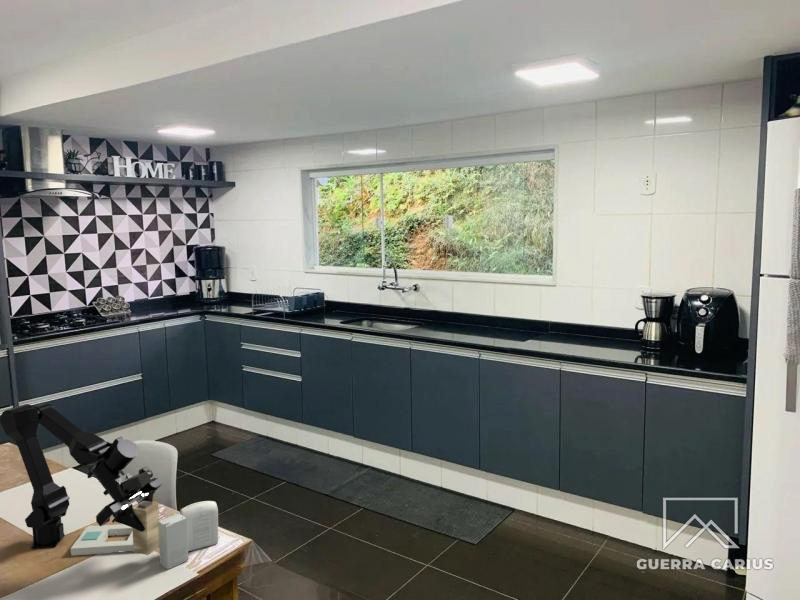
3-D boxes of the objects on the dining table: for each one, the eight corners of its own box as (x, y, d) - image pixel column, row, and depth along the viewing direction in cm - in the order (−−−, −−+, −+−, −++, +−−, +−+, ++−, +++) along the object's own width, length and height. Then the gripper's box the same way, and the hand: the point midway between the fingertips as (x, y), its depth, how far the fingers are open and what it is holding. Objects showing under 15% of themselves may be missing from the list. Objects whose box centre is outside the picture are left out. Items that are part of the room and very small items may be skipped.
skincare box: (180, 554, 160) (178, 512, 158) (189, 560, 157) (188, 517, 156) (158, 564, 155) (156, 520, 154) (167, 571, 152) (165, 526, 151)
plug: (133, 552, 154) (131, 505, 153) (145, 543, 158) (143, 498, 157) (148, 555, 153) (146, 508, 151) (159, 546, 157) (158, 500, 156)
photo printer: (216, 537, 169) (214, 495, 168) (220, 543, 166) (219, 501, 164) (178, 547, 164) (176, 504, 162) (182, 554, 160) (180, 510, 159)
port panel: (71, 555, 159) (70, 547, 159) (87, 532, 171) (87, 525, 171) (149, 550, 162) (149, 542, 162) (160, 528, 174) (160, 521, 173)
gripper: (103, 475, 145) (142, 525, 143) (155, 449, 163) (190, 493, 161) (78, 501, 148) (117, 551, 146) (132, 472, 166) (167, 516, 164)
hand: (150, 526), depth 154 cm, fingers closed on plug, 4 cm apart
